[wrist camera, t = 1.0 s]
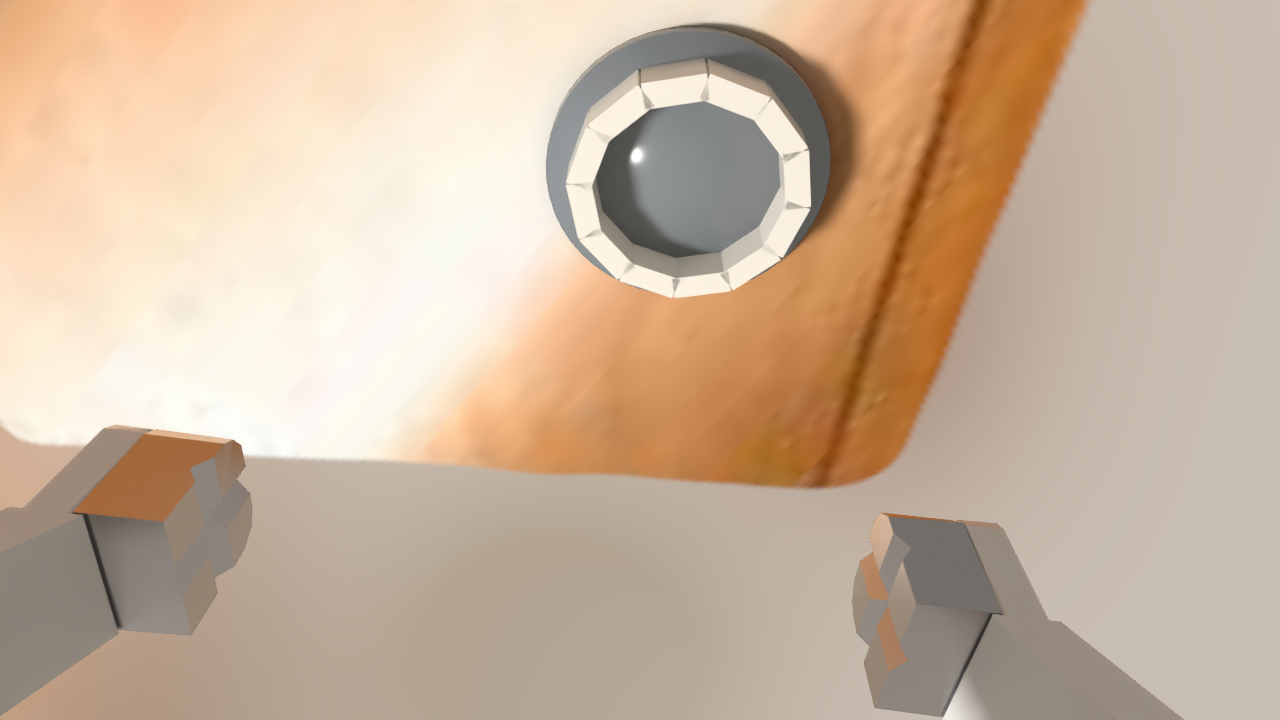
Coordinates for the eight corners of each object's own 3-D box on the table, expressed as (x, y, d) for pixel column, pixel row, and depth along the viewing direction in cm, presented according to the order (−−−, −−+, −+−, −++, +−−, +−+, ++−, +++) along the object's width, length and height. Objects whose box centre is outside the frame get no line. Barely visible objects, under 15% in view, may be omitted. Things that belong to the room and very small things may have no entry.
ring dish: (602, -23, 37) (599, -5, 34) (881, 91, 40) (895, 114, 37) (514, 239, 45) (507, 267, 42) (752, 317, 48) (757, 347, 46)
